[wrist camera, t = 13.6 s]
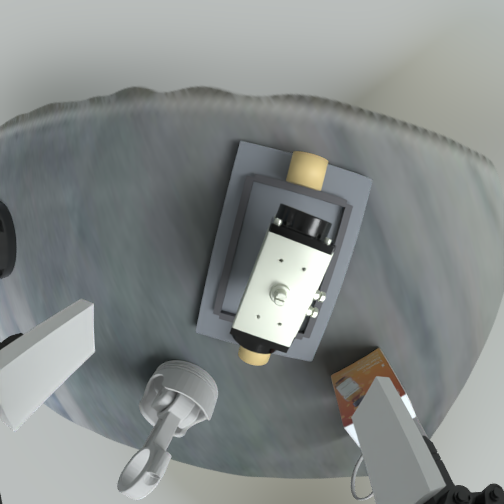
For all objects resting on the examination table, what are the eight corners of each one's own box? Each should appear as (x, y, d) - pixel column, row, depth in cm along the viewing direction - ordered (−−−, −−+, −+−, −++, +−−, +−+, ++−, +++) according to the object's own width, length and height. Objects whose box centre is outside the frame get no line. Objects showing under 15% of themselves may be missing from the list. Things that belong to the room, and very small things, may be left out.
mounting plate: (310, 355, 33) (315, 379, 28) (198, 326, 34) (186, 347, 28) (368, 180, 28) (385, 177, 23) (242, 143, 29) (235, 132, 24)
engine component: (232, 391, 35) (178, 348, 35) (202, 512, 15) (108, 459, 15) (188, 420, 37) (140, 382, 37) (150, 518, 17) (78, 473, 17)
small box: (379, 345, 32) (408, 392, 22) (391, 370, 33) (418, 416, 23) (328, 375, 34) (342, 428, 23) (344, 397, 34) (359, 448, 24)
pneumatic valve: (240, 299, 31) (220, 355, 19) (277, 201, 28) (279, 202, 17) (285, 315, 31) (289, 378, 19) (325, 220, 28) (358, 234, 17)
